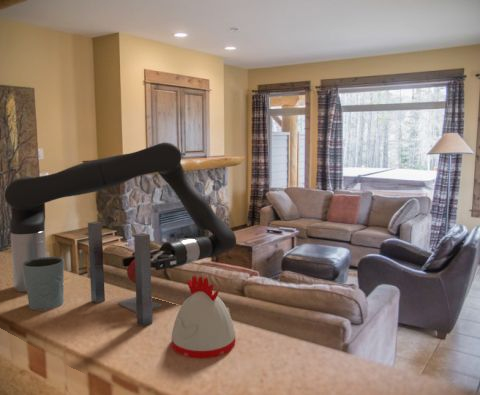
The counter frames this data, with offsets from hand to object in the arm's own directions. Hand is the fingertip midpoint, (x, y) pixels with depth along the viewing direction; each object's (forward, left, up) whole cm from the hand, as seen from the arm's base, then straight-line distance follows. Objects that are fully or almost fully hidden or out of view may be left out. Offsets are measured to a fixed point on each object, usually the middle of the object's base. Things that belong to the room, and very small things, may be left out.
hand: (130, 265), depth 116 cm
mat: (0, +2, -12) cm, 12 cm away
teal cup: (-19, -15, -12) cm, 27 cm away
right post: (+11, -4, -12) cm, 16 cm away
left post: (-11, -4, -12) cm, 16 cm away
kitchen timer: (+29, -1, -12) cm, 31 cm away
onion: (0, +2, -6) cm, 7 cm away
